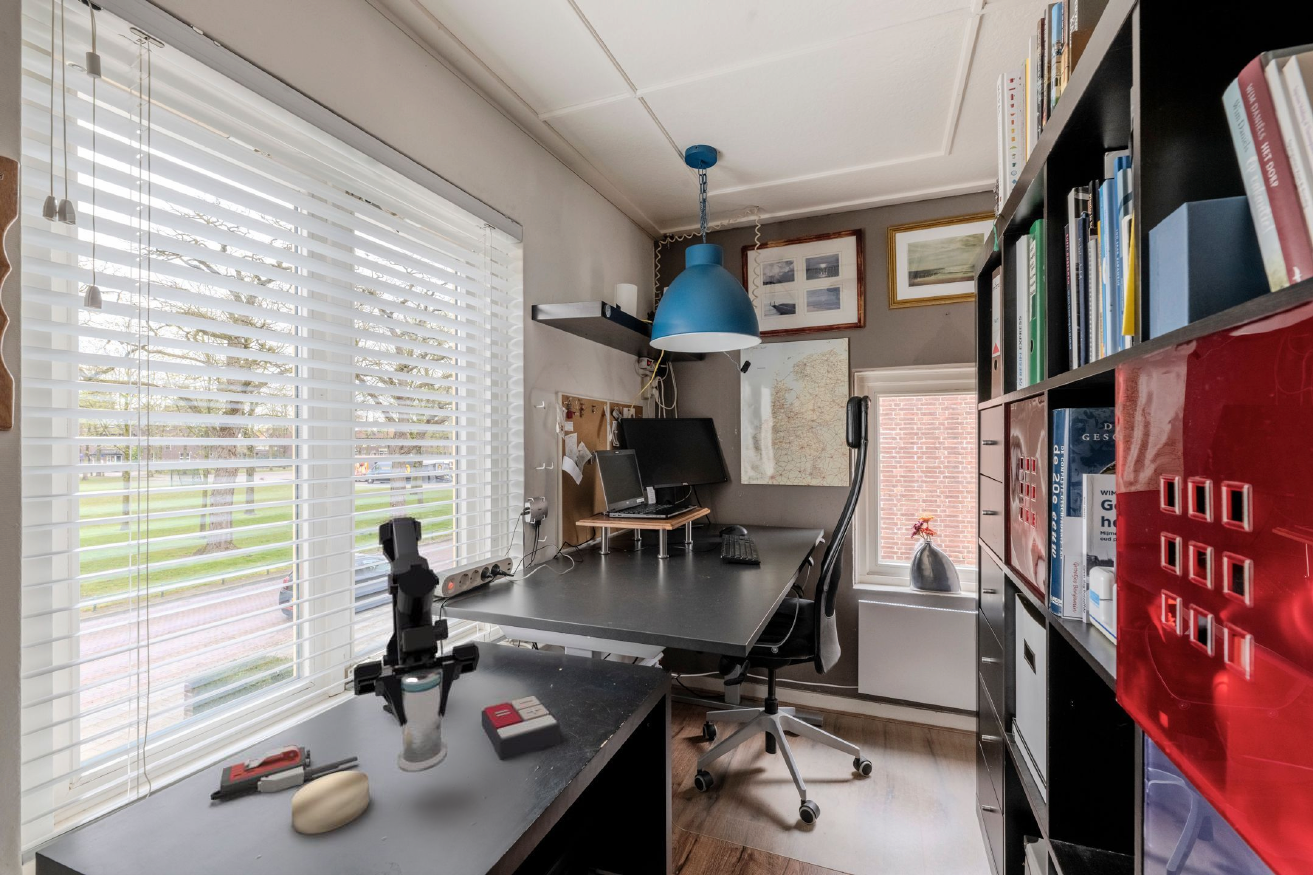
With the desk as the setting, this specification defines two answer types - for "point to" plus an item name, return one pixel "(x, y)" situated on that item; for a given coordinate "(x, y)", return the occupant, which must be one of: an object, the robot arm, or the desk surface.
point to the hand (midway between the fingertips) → (422, 720)
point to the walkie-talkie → (270, 772)
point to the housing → (421, 721)
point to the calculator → (520, 727)
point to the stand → (330, 802)
